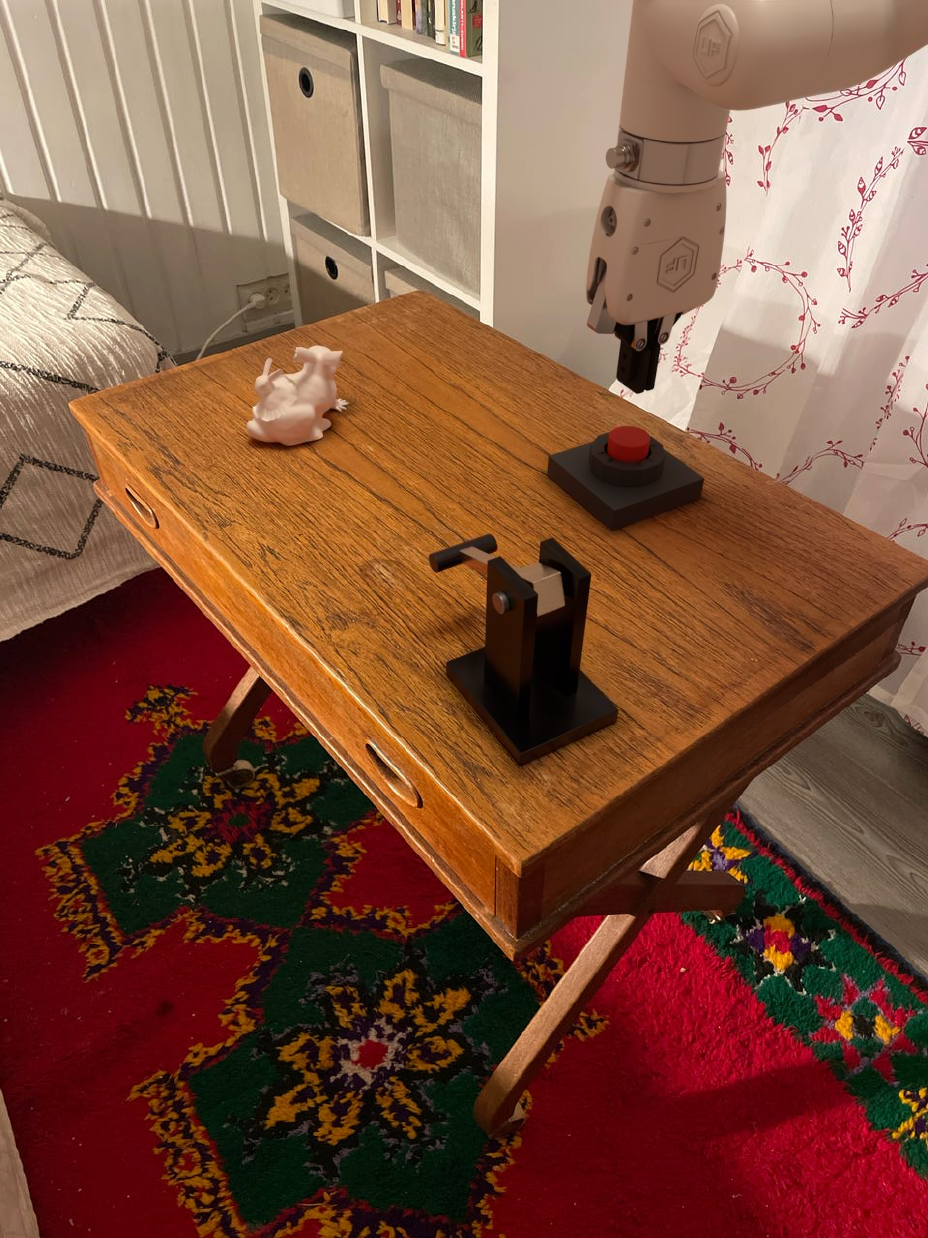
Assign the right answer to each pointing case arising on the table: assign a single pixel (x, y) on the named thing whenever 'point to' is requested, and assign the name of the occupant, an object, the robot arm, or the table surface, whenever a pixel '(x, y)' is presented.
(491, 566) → the switch bracket
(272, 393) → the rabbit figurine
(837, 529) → the table surface
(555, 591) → the lever
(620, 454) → the button
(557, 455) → the control block
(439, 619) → the table surface
